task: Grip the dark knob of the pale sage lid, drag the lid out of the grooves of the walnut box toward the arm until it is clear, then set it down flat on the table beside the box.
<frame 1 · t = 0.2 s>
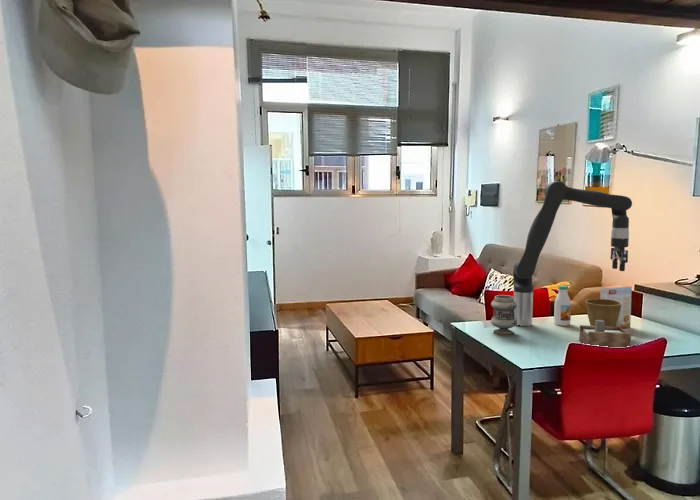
hand: (618, 269, 234), 29 cm above the table, fingers open, 8 cm apart
apothecary jar: (503, 333, 229), on the table
cracker box: (614, 327, 238), on the table
plant pot: (601, 335, 224), on the table
lid: (604, 334, 207), point 5 cm above the table, touching walnut box
walnut box: (603, 345, 207), on the table
milk bottle: (562, 324, 245), on the table
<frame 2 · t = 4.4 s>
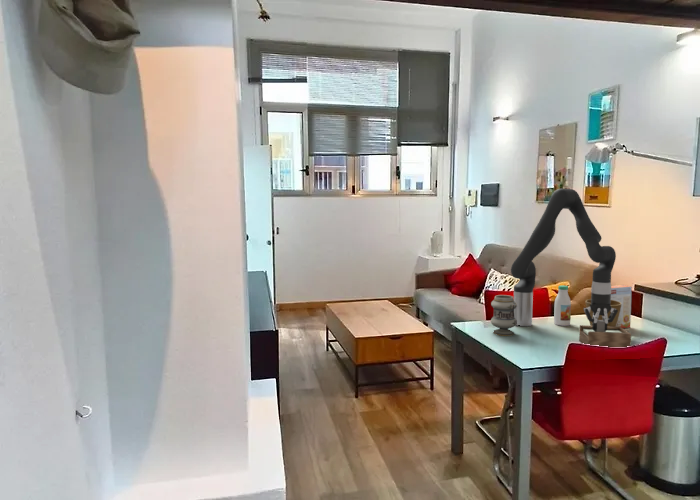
hand: (599, 331, 207), 6 cm above the table, fingers closed on lid, 3 cm apart
lid: (604, 334, 207), point 5 cm above the table, touching gripper, walnut box
everything else where it was.
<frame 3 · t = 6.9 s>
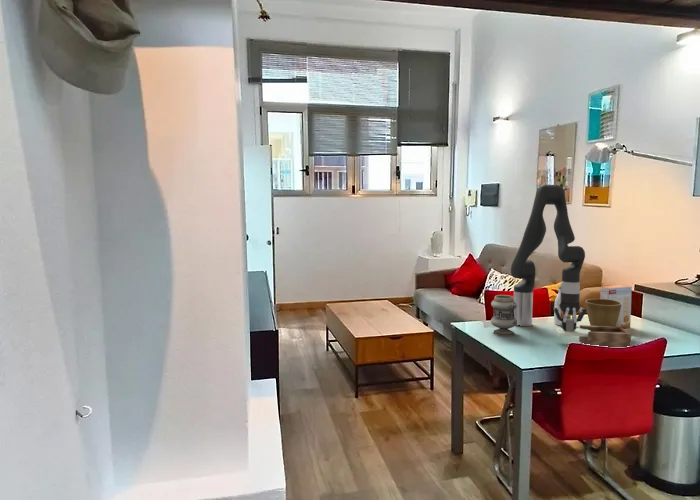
hand: (568, 330, 209), 6 cm above the table, fingers closed on lid, 3 cm apart
lid: (573, 333, 209), point 5 cm above the table, touching gripper
everything else where it was.
when the fingers open (3 cm above the table, at t = 9.7 s): lid drops 2 cm, on the table.
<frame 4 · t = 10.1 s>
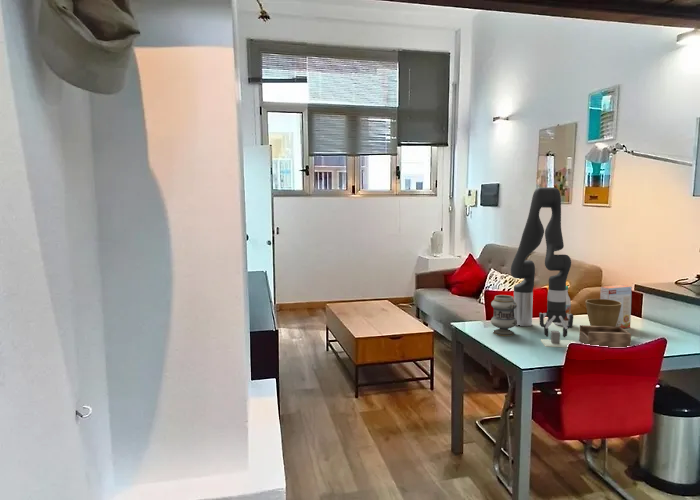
hand: (555, 336, 210), 3 cm above the table, fingers open, 6 cm apart
lid: (559, 345, 210), on the table
everything else where it was.
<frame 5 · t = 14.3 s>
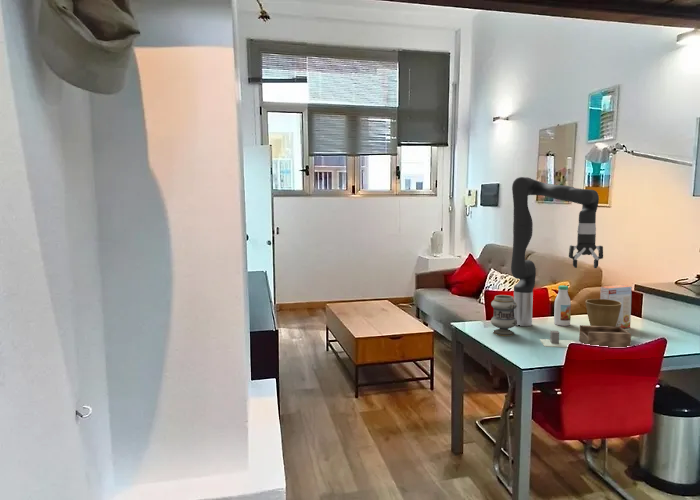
hand: (585, 267, 220), 32 cm above the table, fingers open, 8 cm apart
nothing on the table moved.
at the end: lid inside the target area (0.3 cm from its centre), on the table; lid tilted 0°; the gripper is holding nothing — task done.
